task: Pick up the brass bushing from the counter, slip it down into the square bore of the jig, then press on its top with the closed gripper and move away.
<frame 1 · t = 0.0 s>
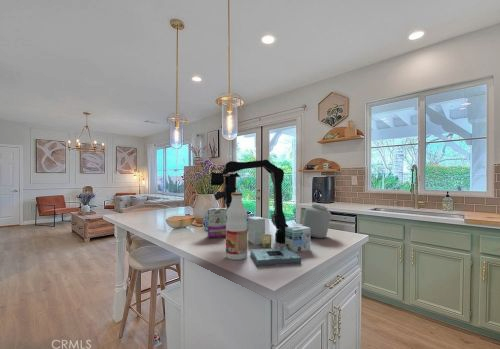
hand: (230, 215, 123), 15 cm above the countertop, tool pointing down, fingers open, 9 cm apart
light bulb box: (297, 249, 115), on the countertop
small box: (256, 242, 127), on the countertop
jig: (274, 259, 101), on the countertop
bushing: (266, 249, 114), on the countertop
candy bar box: (217, 236, 138), on the countertop
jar: (317, 237, 139), on the countertop
fruit juice: (236, 257, 104), on the countertop
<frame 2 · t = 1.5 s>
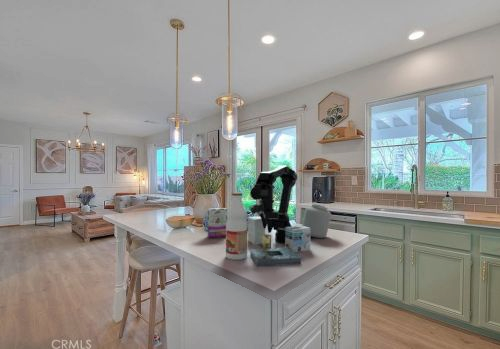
hand: (266, 230, 114), 9 cm above the countertop, tool pointing down, fingers open, 9 cm apart
nothing on the countertop moved.
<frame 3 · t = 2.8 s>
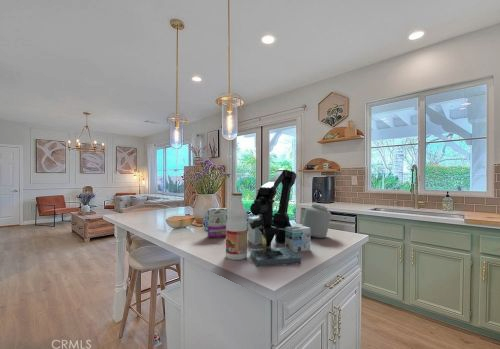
hand: (266, 245, 114), 2 cm above the countertop, tool pointing down, fingers closed on bushing, 4 cm apart
bushing: (266, 249, 114), on the countertop, touching gripper
everything else where it was.
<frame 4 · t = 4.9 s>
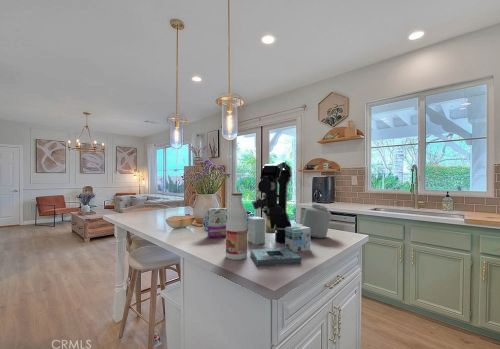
hand: (270, 227, 106), 13 cm above the countertop, tool pointing down, fingers closed on bushing, 4 cm apart
bushing: (270, 232, 106), point 10 cm above the countertop, touching gripper
everything else where it was.
when the fingers open (4 cm above the countertop, at t = 7.1 s): bushing drops 2 cm, resting in jig.
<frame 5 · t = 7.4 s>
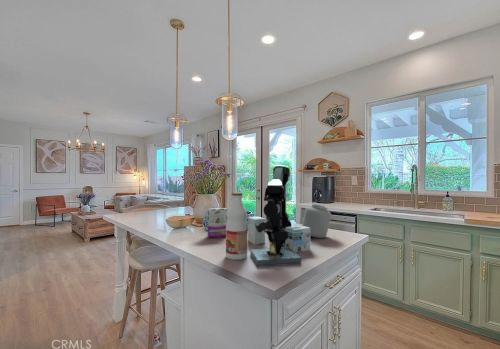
hand: (274, 250, 101), 4 cm above the countertop, tool pointing down, fingers open, 8 cm apart
bushing: (274, 259, 101), resting in jig
everything else where it was.
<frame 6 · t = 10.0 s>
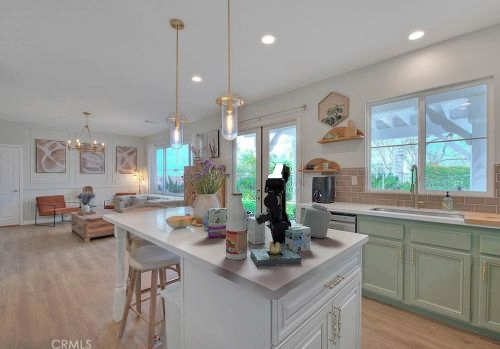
hand: (274, 242, 101), 7 cm above the countertop, tool pointing down, fingers closed, pressing on bushing
bushing: (274, 259, 101), resting in jig, touching gripper
everything else where it was.
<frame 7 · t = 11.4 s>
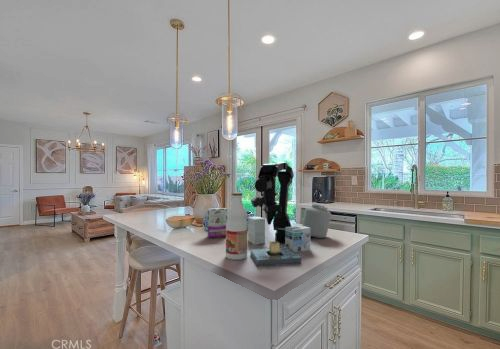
hand: (269, 224, 110), 13 cm above the countertop, tool pointing down, fingers closed
bushing: (274, 259, 101), resting in jig
everything else where it was.
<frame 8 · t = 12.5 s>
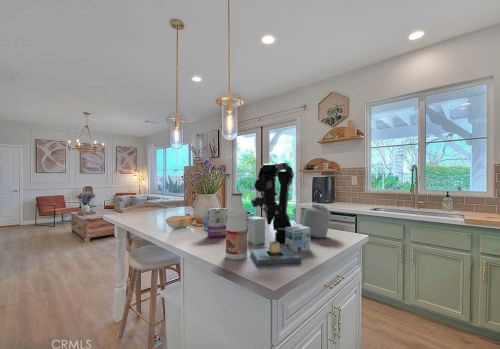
hand: (269, 224, 110), 13 cm above the countertop, tool pointing down, fingers closed
nothing on the countertop moved.
at the end: bushing 0.1 cm off-centre on the jig, point 0.0 cm above the jig's base; bushing tilted 0°; the gripper is holding nothing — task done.
